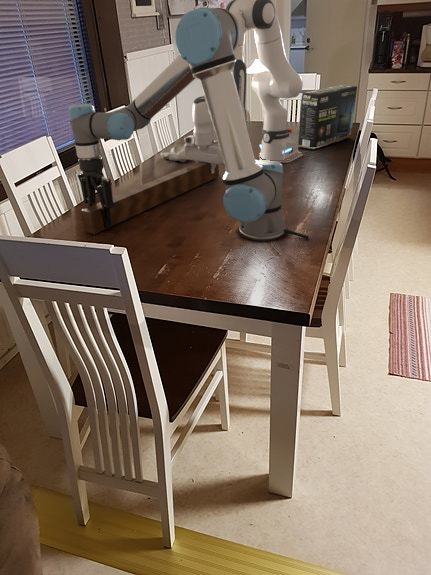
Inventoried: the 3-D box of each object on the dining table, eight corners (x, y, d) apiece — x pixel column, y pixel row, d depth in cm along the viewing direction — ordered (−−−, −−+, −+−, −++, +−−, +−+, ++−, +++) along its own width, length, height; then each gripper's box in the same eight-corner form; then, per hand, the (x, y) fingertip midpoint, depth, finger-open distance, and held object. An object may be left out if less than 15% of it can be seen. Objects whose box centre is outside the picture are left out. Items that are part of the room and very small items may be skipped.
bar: (94, 234, 152) (89, 212, 148) (84, 231, 154) (80, 210, 150) (219, 176, 200) (218, 158, 196) (210, 174, 203) (209, 157, 199)
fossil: (184, 156, 217) (163, 136, 220) (174, 174, 223) (154, 154, 227) (205, 153, 231) (186, 134, 234) (195, 171, 237) (176, 152, 240)
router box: (314, 151, 231) (318, 94, 217) (296, 148, 237) (299, 92, 224) (352, 138, 251) (358, 85, 238) (335, 135, 258) (340, 83, 245)
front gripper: (118, 157, 143) (128, 226, 155) (81, 150, 152) (93, 216, 164) (99, 163, 138) (112, 234, 150) (62, 156, 147) (77, 223, 159)
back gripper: (229, 140, 186) (230, 173, 193) (190, 134, 196) (192, 166, 203) (220, 143, 181) (221, 177, 188) (180, 138, 192) (183, 170, 199)
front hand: (102, 225), depth 157 cm, fingers closed on bar, 5 cm apart
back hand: (206, 172), depth 196 cm, fingers closed on bar, 5 cm apart
